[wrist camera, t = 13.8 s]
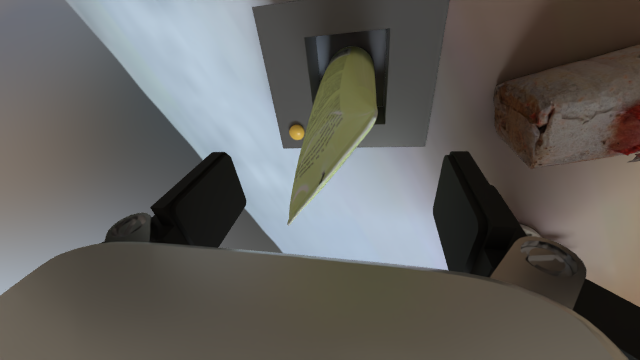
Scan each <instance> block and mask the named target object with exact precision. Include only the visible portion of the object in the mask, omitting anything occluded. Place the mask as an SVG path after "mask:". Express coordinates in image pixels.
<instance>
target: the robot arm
mask: <svg viewBox="0 0 640 360" xmlns="http://www.w3.org/2000/svg"><path fill="white" fill-rule="evenodd" d="M245 206H246V198H245V195H244V192H243V189H242V187H241V184H240V181H239V178H238V176H237V173H236V170H235V167H234V164H233V162H232V159H231V157H230V156H229V155H228V154H227V153H225V152H212V153H211V154H210V155H209V156H207V157H206V158H205V159H204V160H203V161H202V162H201V163H200V164H199V165H197V166H196V167H195V168H194V169H193V170H192V171H191V172H189V173H188V174H187V175H186V176H185V177H184V178H183V179H182V180H181V181H179V182H178V183H177V184H176V185H175V186H174V187H173V188H172V189H170V190H169V191H168V192H167V193H166V194H165V195H164V196H163V197H161V198H160V199H159V200H158V201H157V202H156V203H155V204H154V205H153V206H151V209H152V211H153V212H154V214H155V215H154V216H153V217H151V216H150V215H149V214H147V213H137V214H133V215H130V216H128V217H125V218H123V219H121V220H120V221H118V222H117V223H115V224H114V225H113V226H112V227H111V228H110V229H109V230H108V232H107V234H106V238H105V241H104V242H102V243H99V244H94V245H90V246H86V247H81V248H77V249H74V250H71V251H68V252H65V253H63V254H60V255H58V256H56V257H54V258H52V259H50V260H49V261H47V262H46V263H44V264H43V265H41V266H40V267H38V268H37V269H35V270H34V271H33V272H31V273H30V274H29V275H27V276H26V277H24V278H23V279H22V280H20V281H19V282H18V283H16V284H15V285H14V286H12V287H11V288H10V289H9V290H7V291H6V292H4V293H3V294H2V295H0V360H640V307H638V306H636V305H635V304H633V303H631V302H629V301H627V300H625V299H623V298H621V297H619V296H618V295H616V294H614V293H612V292H610V291H608V290H606V289H604V288H602V287H601V286H599V285H597V284H595V283H593V282H591V281H589V280H587V279H585V278H586V267H585V265H584V263H583V261H582V260H581V259H580V258H579V257H578V256H577V255H576V254H575V253H573V252H572V251H571V250H569V249H568V248H566V247H565V246H563V245H561V244H559V243H557V242H554V241H551V240H549V239H546V238H542V237H541V236H540V235H539V234H538V233H537V232H536V231H535V230H533V229H532V228H530V227H528V226H525V225H522V224H519V222H518V221H517V219H516V218H515V216H514V215H513V213H512V212H511V210H510V209H509V207H508V206H507V204H506V203H505V201H504V200H503V198H502V197H501V195H500V194H499V192H498V191H497V189H496V188H495V187H494V186H492V185H490V184H489V183H488V181H487V180H486V178H485V176H484V175H483V173H482V172H481V170H480V169H479V167H478V166H477V164H476V162H475V161H474V159H473V158H472V156H471V155H470V153H469V152H468V151H452V152H450V154H449V155H445V157H444V160H443V164H442V169H441V174H440V178H439V183H438V188H437V192H436V197H435V201H434V206H433V216H434V219H435V223H436V227H437V230H438V234H439V237H440V241H441V245H442V248H443V252H444V255H445V259H446V263H447V266H448V270H449V271H448V270H441V269H433V268H425V267H416V266H406V265H397V264H388V263H378V262H368V261H357V260H347V259H337V258H326V257H316V256H305V255H294V254H283V253H272V252H260V251H250V250H239V249H227V248H218V247H219V246H220V244H221V243H222V241H223V240H224V238H225V236H226V235H227V233H228V232H229V230H230V229H231V227H232V226H233V224H234V223H235V221H236V220H237V218H238V216H239V215H240V214H241V212H242V210H243V209H244V207H245Z"/></svg>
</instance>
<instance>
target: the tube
mask: <svg viewBox="0 0 640 360" xmlns="http://www.w3.org/2000/svg"><path fill="white" fill-rule="evenodd" d="M377 115H378V110H377V104H376V87H375V70H374V64H373V61H372V58H371V56H370V55H369V54H368V53H367V52H366V51H365V50H363V49H362V48H359V47H355V46H350V47H345V48H343V49H341V50H339V51H338V52H337V53H336V54H335V55H334V56H333V57H332V59H331V60H330V62H329V65H328V67H327V69H326V71H325V73H324V76H323V78H322V81H321V83H320V86H319V89H318V92H317V95H316V98H315V101H314V104H313V108H312V111H311V115H310V118H309V121H308V125H307V129H306V133H305V136H304V141H303V145H302V149H301V152H300V156H299V160H298V165H297V169H296V174H295V179H294V184H293V189H292V195H291V202H290V210H289V220H288V224H287V225H288V226H289V225H290V224H291V223H292V221H293V220H294V219H295V218H296V216H297V215H298V214H299V213H300V211H301V210H302V209H303V208H304V207H305V206H306V205H307V204H308V203H309V202H310V201H311V200H312V199H313V198H314V197H315V196H316V195H317V194H318V192H319V191H320V190H321V189H322V188H323V187H324V186H325V185H326V183H327V182H328V181H329V180H330V179H331V178H332V176H333V175H334V174H335V173H336V172H337V170H338V169H339V168H340V167H341V165H342V164H343V163H344V162H345V161H346V159H347V158H348V157H349V156H350V155H351V153H352V152H353V151H354V150H355V149H356V147H357V146H358V145H359V144H360V143H361V141H362V140H363V139H364V138H365V136H366V135H367V134H368V132H369V131H370V130H371V128H372V127H373V125H374V123H375V121H376V118H377Z"/></svg>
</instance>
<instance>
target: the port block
mask: <svg viewBox="0 0 640 360" xmlns="http://www.w3.org/2000/svg"><path fill="white" fill-rule="evenodd" d="M448 6H449V0H300V1H293V2H286V3H279V4H271V5H264V6H257V7H252V9H253V13H254V18H255V22H256V27H257V31H258V36H259V40H260V45H261V49H262V54H263V59H264V63H265V68H266V72H267V77H268V81H269V86H270V90H271V95H272V99H273V104H274V108H275V113H276V117H277V122H278V126H279V131H280V136H281V140H282V145H283V148H302V145H303V141H304V136H305V133H306V129H307V125H308V121H309V118H310V115H311V111H312V108H313V104H314V101H315V98H316V95H317V92H318V89H319V86H320V75H319V65H318V55H317V45H316V36H322V35H331V34H341V33H350V32H359V31H368V30H378V29H387V38H386V59H385V81H384V102H383V107H377V110H378V115H377V118H376V121H375V123H374V125H373V127H372V128H371V130H370V131H369V132H368V134H367V135H366V136H365V138H364V139H363V140H362V141H361V143H360V144H359V145H358V146H357V147H423V146H425V145H426V139H427V133H428V127H429V121H430V115H431V109H432V103H433V97H434V91H435V85H436V79H437V73H438V67H439V61H440V55H441V49H442V43H443V37H444V30H445V24H446V18H447V12H448Z"/></svg>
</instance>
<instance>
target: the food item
mask: <svg viewBox="0 0 640 360" xmlns="http://www.w3.org/2000/svg"><path fill="white" fill-rule="evenodd" d="M494 106H495V128H496V132H497V134H498V135H499V137H500V138H501V139H503V140H504V141H505V142H506V143H507V144H508V145H509V147H510V148H511V149H512V150H513V151H514V152H515V153H516V154H517V155H518V156H519V157H520V158H521V159H522V160H523V162H524V163H526V165H527V166H528V167H529V168H530V169H533V168H537V167H542V166H550V165H557V164H566V163H574V162H580V161H587V160H593V159H600V158H606V157H612V156H618V155H628V154H632V153H638V152H640V45H635V46H631V47H628V48H625V49H621V50H618V51H614V52H610V53H607V54H604V55H601V56H597V57H593V58H590V59H586V60H582V61H577V62H573V63H569V64H565V65H561V66H557V67H554V68H551V69H547V70H544V71H541V72H538V73H534V74H530V75H527V76H523V77H520V78H516V79H513V80H509V81H506V82H504V83H501V84H499V85H496V89H495V96H494ZM635 155H637V156H636V157H635V158H634V159H633V160H632V161H629V162H636V161H640V153H639V154H635Z"/></svg>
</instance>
